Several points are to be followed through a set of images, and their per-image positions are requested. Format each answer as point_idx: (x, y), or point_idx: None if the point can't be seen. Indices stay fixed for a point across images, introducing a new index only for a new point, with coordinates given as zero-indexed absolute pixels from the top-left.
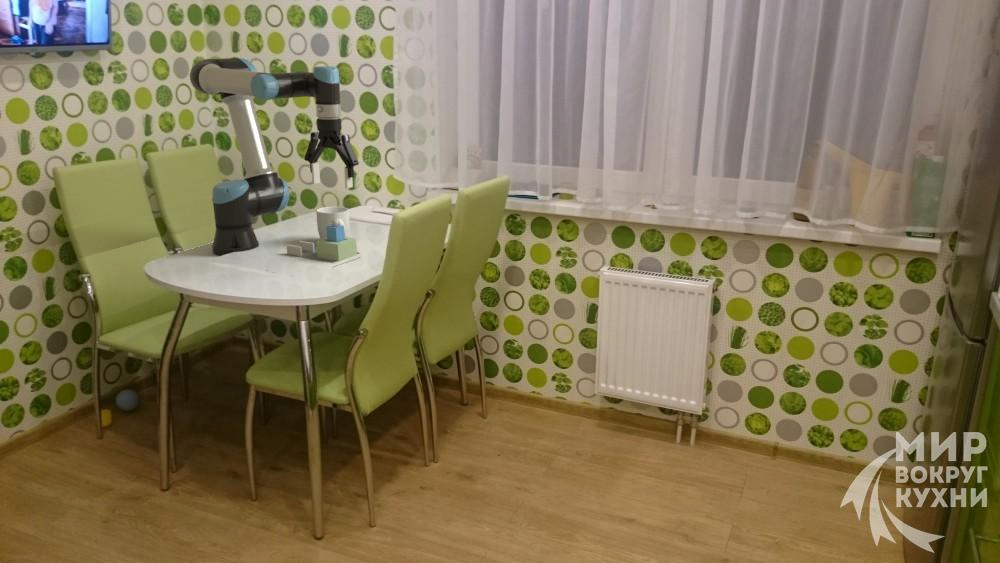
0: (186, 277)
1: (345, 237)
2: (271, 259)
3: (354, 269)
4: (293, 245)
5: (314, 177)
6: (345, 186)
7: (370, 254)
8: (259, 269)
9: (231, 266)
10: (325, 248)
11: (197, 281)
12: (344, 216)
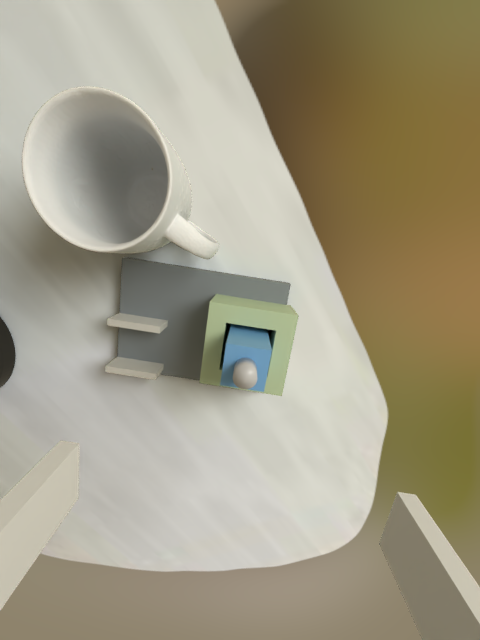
0: None
1: (258, 315)
2: (95, 378)
3: (325, 381)
4: (124, 369)
5: (41, 543)
6: (387, 557)
7: (299, 245)
8: (128, 448)
9: None
10: None
11: (82, 539)
12: (177, 195)
